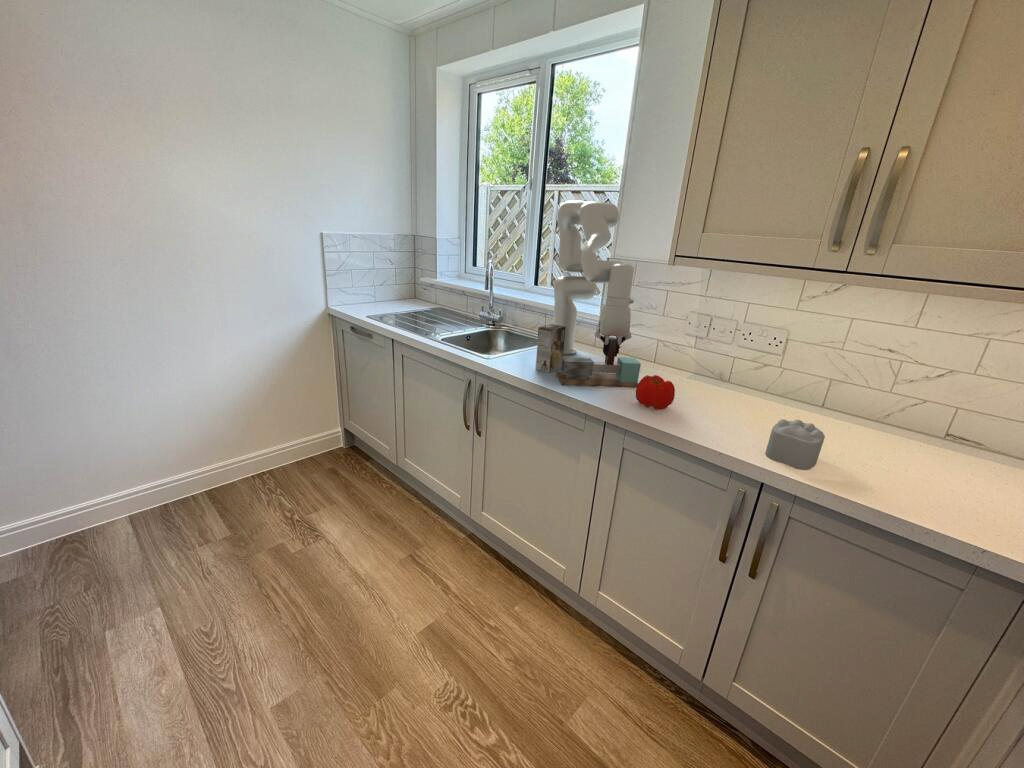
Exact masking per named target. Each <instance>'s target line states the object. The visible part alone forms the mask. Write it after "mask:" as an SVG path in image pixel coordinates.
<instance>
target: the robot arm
mask: <svg viewBox="0 0 1024 768" xmlns="http://www.w3.org/2000/svg"><path fill="white" fill-rule="evenodd" d="M556 218H557V220H556V222H557V227H558V232H559V233H558V234H559V246H558V249H559V250H558V251H559V252H558V268H559V270H560V271H561V272H563V273H571V274H572V273H573V274H574V273H575V274H576V273H579V274H581V275H582V276H580V275H578V276H577V275H562V276H559V277H558V278H556V279H555V281H554V283H553V293H554V304H553V305H554V309H553V320H552V324H554V325H559V326H565V327H566V328H565V339H564V350H563V355H574V354H576V353H577V348H576V347H574V341H575V332H576V325H577V324H576V323H577V322H576V321H577V314H578V312H577V311H578V310H577V308H576V305H575V304H574V302H573V301H576V300H577V301H580V300H581V301H582V300H583V301H587V300H591V299H593V298H594V296H595V294H596V290H597V284H607V293H606V298H605V304H603V305H602V308H601V311H600V313H599V320H598V323H597V329H596V330H595V332H594V334H593V335H594V337H595V338H598V339H599V340H600V341H601V342H602V343H603V347H602V353H603V355H604V357H605V356H608V352H609V345H608V344H609V343H608V341H609V337H615V338H616V339H617V345H616V352H615V357H617V356H618V354H619V352H620V347H621V346H622V344H623V343H624V342H625V341H627V340H630V339H631V338H632V334H631V317H632V315H631V314H632V313H631V306H630V304H634V299H633V298H631V293H632V286H633V279H634V271H635V268H634V266H633V265H632V264H628V263H624V262H622V261H619V260H618V261H617V260H602V259H601V260H600V259H599V258H598V256H597V253H596V252H595V251H597V250H599V249H602V248H604V247H605V246H606V245H608V244H609V242H610V240H611V238H612V237H611V236H612V235H611V234H612V233H611V230H610V228H614V227H616V225H617V224H618V222H619V219H620V212H619V209H618V207H617V206H616V205H615V204H614V203H612V202H601V201H600V202H599V201H584V200H567V201H564V202H562V203H561V204H560V205H559V208H558V211H557V217H556ZM576 225H578V226H579V225H580V226H581V227H582V229H583V233H584V236H585V239H586V242H585V244H584V246H583V247H581V246H582V235H581V233H580V230H579V229H578V227H577V226H576ZM598 259H599V260H598ZM617 358H618V357H617Z"/></svg>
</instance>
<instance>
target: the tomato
mask: <svg viewBox="0 0 1024 768" xmlns="http://www.w3.org/2000/svg"><path fill="white" fill-rule="evenodd" d="M675 393H676V389H675V385H674V384H673V381H670V380H666V381H665V379H664V378H663V377H661V376H660V375H656V374H654V375H645V376H643V377H642V378H641V379H640V380H639V381H638V385H637V388H635V398H636V400H637V402H638V403H639V404H640V405H642V406H644V407H645V408H653V409H655V410H658V411H661V410H665V409H667V408H668V407H670V405H672V404H673V402H674V400H675V396H676V394H675Z"/></svg>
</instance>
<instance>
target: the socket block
mask: <svg viewBox="0 0 1024 768" xmlns="http://www.w3.org/2000/svg"><path fill="white" fill-rule="evenodd" d="M616 361H617V362H616V363H621V364H622V367H621V374H619V373H614V374H615V376H616V377H617V378H618V380H619V381H620V382H628V383H639V379H640V378H639V377H640V372H641V362H640V361H639V360H637V359H636V357H628V356H627V357H625V356H623V357H622V356H618V357H617V360H616Z"/></svg>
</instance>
